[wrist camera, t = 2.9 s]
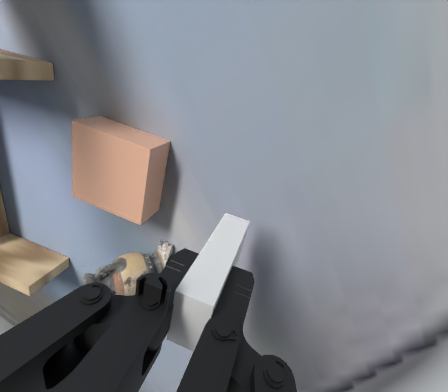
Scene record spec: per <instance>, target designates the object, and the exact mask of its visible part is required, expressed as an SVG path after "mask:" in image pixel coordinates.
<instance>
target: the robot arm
mask: <svg viewBox="0 0 448 392" xmlns="http://www.w3.org/2000/svg"><path fill="white" fill-rule="evenodd" d="M249 223H250V221H248V220H245V219H242V218H239V217H236V216H233V215H230V214H227V213H225V215H224V216H223V218H222V219H221V221H220V222H219V224H218V225H217V227H216V228H215V230H214V232H213V233H212V235H211V236H210V238H209V239H208V241H207V242H206V244H205V245H204V247H203V249H202V250H201V252H200V253H199V254H198V253H196V252H193V251H190V250H188V249H185V248H184V249H182V250H181V251H179V252H177V253H176V254H175V255H174V256H173V258H172V259H171V261H169V263H168V264H167V265H166V266H165V268H164V269H163V270H162V271H161V273H160V274H159V273H147V274H144V275H141V276H140V277H139V278H138V279H137V280H136V292H135V295H132V296H125V295H115V294H111V289H110V288H109V287H108V286H107V285H105V284H103V283H89V284H86V285H83V286H81V287H79V288H77V289H76V290H74V291H73V292H71V293H69V294H68V295H66V296H64V297H63V298H61V299H59V300H58V301H56V302H54V303H53V304H51V305H49V306H48V307H46V308H44V309H43V310H41V311H39V312H38V313H36V314H35V315H33V316H31V317H30V318H28V319H26V320H25V321H23V322H21V323H20V324H18V325H16V326H15V327H13V328H11V329H10V330H8V331H6V332H5V333H3V334H1V335H0V392H138V391H139V389H140V387H141V385H142V384H143V382H144V380H145V378H146V376H147V374H148V373H149V371H150V369H151V367H152V365H153V364H154V362H155V360H156V358H157V356H158V354H159V353H160V350H161V346H162V342H163V340H164V338H165V336H166V335H167V340H169V341H172V342H174V343H176V344H178V345H181V346H183V347H185V348H187V349H190V350H192V351H194V352H193V354H192V357H191V359H190V361H189V364H188V366H187V368H186V371H185V373H184V375H183V378H182V380H181V382H180V385H179V387H178V389H177V392H297V390H296V384H295V379H294V376H293V373H292V370H291V369H290V368H289V366H288V365H287V363H285V362H284V361H283V360H282V359H280V358H279V357H276V356H274V355H264V356H261V355H260V354H258V353H257V352H256V351H255V350H254V349H253V348H252V347H251V346H250V345H249V344H248V343H247V341H246V340H245V337H244V335H243V323H244V319H245V316H246V312H247V308H248V304H249V301H250V297H251V293H252V289H253V286H254V278H253V274H252V273H251V272H248V271H246V270H243V269H240V268H238V267H235V266H236V264H237V261H238V259H239V256H240V252H241V249H242V246H243V242H244V239H245V236H246V233H247V229H248V226H249ZM167 333H168V334H167Z"/></svg>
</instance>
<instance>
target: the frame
mask: <svg viewBox="0 0 448 392" xmlns="http://www.w3.org/2000/svg"><path fill="white" fill-rule="evenodd" d="M0 80H52V81H54V70H53V63H50V62H47V61H43V60H39V59H35V58H32V57H28V56H24V55H20V54H17V53H13V52H9V51H5V50H2V49H0ZM68 267H69V258H68V257H66V256H64V255H61V254H59V253H56V252H54V251H52V250H49V249H47V248H45V247H42V246H40V245H38V244H35V243H33V242H31V241H28V240H26V239H23V238H21V237H19V236H16V235H14V234H12V233H10V232H9V227H8V222H7V217H6V212H5V207H4V203H3V198H2V193H1V188H0V282H1V283H3V284H5V285H7V286H10V287H12V288H14V289H16V290H18V291H20V292H22V293H24V294H27V295H29V296H31V295H32V294H33V293H35V292H36V291H37V290H39V289H40V288H41V287H43V286H44V285H45V284H47V283H48V282H49V281H51V280H52V279H53V278H55V277H56V276H57V275H59V274H60V273H61V272H63V271H64V270H65V269H67V268H68Z"/></svg>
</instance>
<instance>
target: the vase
mask: <svg viewBox="0 0 448 392" xmlns="http://www.w3.org/2000/svg"><path fill="white" fill-rule="evenodd" d="M120 233H121V232H120ZM161 240H162V239H161ZM159 242H162V241H160V240H159ZM159 244H160V243H159ZM162 244H163V243H162ZM160 245H161V244H160ZM172 250H173V245H169V244H168V243H167V242H165V243H164V244H163V246H160V247H159V246H158V251H155V252H154V253H153V255H152V257H149V256H148V255H146V254H143V253H138V252H133V253H127V254H123V255H121V256H119V257H117V258H116V259H115V260H114V261H113V262H112V264H109V265H106V266H103V267H100V268H99V269H98V270H97V271H96V273H95V275H94V274H91V273H88V274H83V275H82V278H83V283H84V285H86V284H89V283H103V284H105V285H107V286H108V287H109V288H110V289H111V294H116V293H117V294H120V295H125V296H132V295H135V292H136V280H137V279H138V278H139V277H140V276H141V275H144V274H147V273H159V274H160V273H161V271H162V270H163V269H164V268H165V265H166V262H167V260H168V257H169V254H170V256H171V254H172ZM90 265H91V264H90ZM83 267H84V266H83Z"/></svg>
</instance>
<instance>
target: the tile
mask: <svg viewBox="0 0 448 392" xmlns="http://www.w3.org/2000/svg"><path fill="white" fill-rule="evenodd" d="M169 147H170V141H169V140H166V139H163V138H160V137H157V136H155V135H152V134H149V133H146V132H144V131H141V130H138V129H135V128H133V127H130V126H127V125H124V124H121V123H119V122H116V121H113V120H110V119H108V118H105V117H102V116H96V117H90V118H83V119H76V120H72V184H73V197H75V198H77V199H79V200H82V201H84V202H86V203H89V204H91V205H94V206H96V207H98V208H101V209H103V210H105V211H108V212H110V213H112V214H115V215H117V216H120V217H122V218H124V219H127V220H129V221H131V222H134V223H136V224H138V225H141V224H143V223H144V222H145V221H146V220H147V219H149V218H150V217H151V216H152V215H153V214H155V213H156V212H157V211H158V210H159V207H160V201H161V195H162V189H163V183H164V177H165V171H166V165H167V159H168V153H169Z"/></svg>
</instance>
